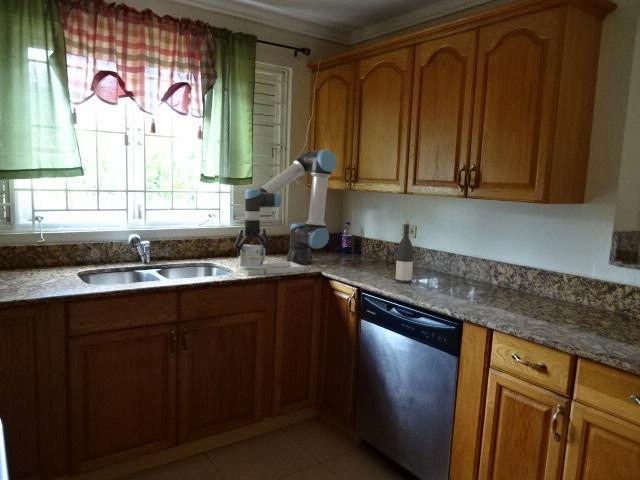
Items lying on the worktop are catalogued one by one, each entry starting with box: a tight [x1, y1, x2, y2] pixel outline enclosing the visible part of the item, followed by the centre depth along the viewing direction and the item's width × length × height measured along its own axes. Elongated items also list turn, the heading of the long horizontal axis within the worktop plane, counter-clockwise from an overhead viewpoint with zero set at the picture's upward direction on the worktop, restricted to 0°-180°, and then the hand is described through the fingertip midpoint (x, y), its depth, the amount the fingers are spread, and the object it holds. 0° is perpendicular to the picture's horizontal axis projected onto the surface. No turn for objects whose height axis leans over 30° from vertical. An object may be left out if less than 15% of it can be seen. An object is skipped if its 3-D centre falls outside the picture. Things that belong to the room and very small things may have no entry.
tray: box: [258, 261, 305, 275], centre depth 262 cm, size 22×16×2 cm
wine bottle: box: [395, 220, 414, 285], centre depth 240 cm, size 8×8×30 cm
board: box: [238, 266, 265, 276], centre depth 252 cm, size 9×12×2 cm
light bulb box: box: [239, 244, 264, 267], centre depth 251 cm, size 11×7×11 cm, turn 84°
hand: (251, 261), depth 251 cm, fingers closed on light bulb box, 12 cm apart
